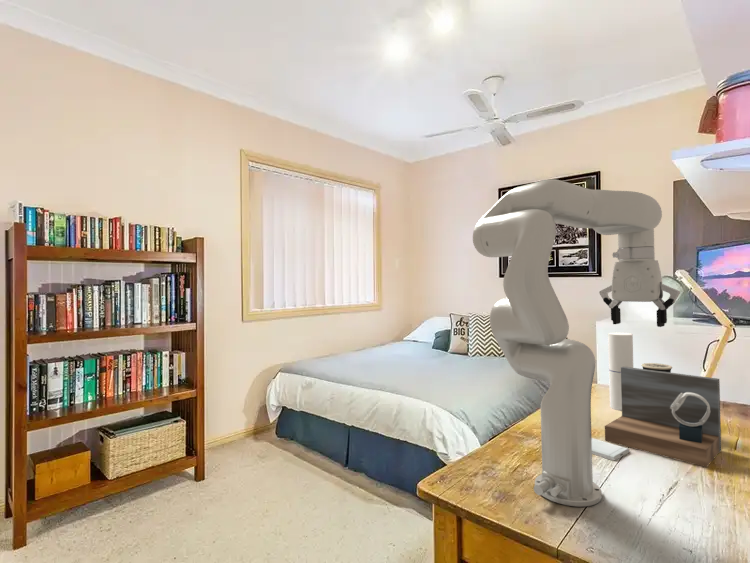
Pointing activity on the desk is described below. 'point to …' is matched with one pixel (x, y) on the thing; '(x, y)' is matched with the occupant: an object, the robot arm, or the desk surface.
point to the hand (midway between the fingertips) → (638, 325)
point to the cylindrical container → (618, 364)
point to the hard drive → (608, 450)
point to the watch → (690, 429)
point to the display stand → (666, 414)
